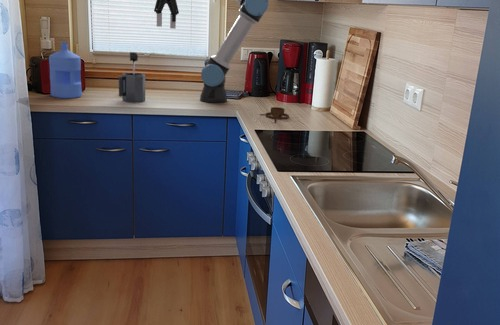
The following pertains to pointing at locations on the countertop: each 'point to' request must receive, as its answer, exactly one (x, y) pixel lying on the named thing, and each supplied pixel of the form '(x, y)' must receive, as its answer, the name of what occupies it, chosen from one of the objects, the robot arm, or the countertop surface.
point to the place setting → (276, 113)
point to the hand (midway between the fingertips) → (165, 27)
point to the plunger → (133, 58)
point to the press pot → (132, 87)
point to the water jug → (65, 73)
